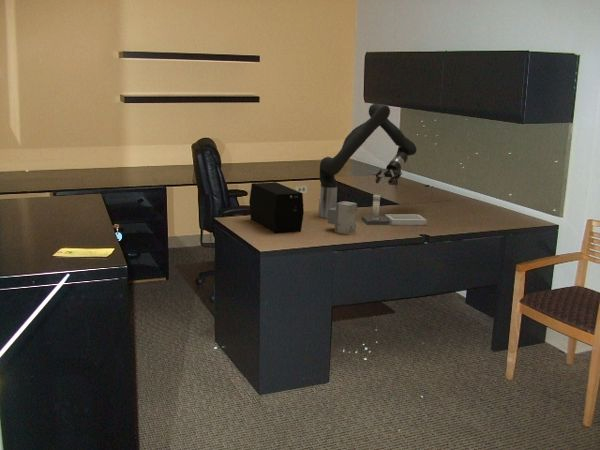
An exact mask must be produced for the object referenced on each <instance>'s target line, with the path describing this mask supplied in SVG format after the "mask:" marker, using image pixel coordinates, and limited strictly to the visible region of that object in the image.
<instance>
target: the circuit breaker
mask: <svg viewBox="0 0 600 450" xmlns="http://www.w3.org/2000/svg"><path fill="white" fill-rule="evenodd" d="M357 212H358V203H356V202H351V201H345V200H343V201H339V202H336V207H334V208H330V209H328V218H327V224H330V225H334V232H335V233H339V234H344V235H351V234H353V233H357V232H356V229H357V222H355V221H356V213H357Z"/></svg>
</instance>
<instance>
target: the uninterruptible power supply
mask: <svg viewBox="0 0 600 450" xmlns="http://www.w3.org/2000/svg"><path fill="white" fill-rule="evenodd" d="M249 194H250V196H249V213H250V221H252V222H255V223H256V224H258V225H260V226H261V225H262V226H261V227H264V229H265V228H266V229H267V230H268V229H269V231H270V232H273V234H275V233H276V234H285V233H286V234H288V233H299V232H300V233H301V231H302V227H303V220H304V215H305V211H304V194H303V192H301V191H298V190H296V189H294V188H291V187H288V186H286V185H283V184H281V183H279V182H276V181H272V182H251V186H250V192H249Z"/></svg>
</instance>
